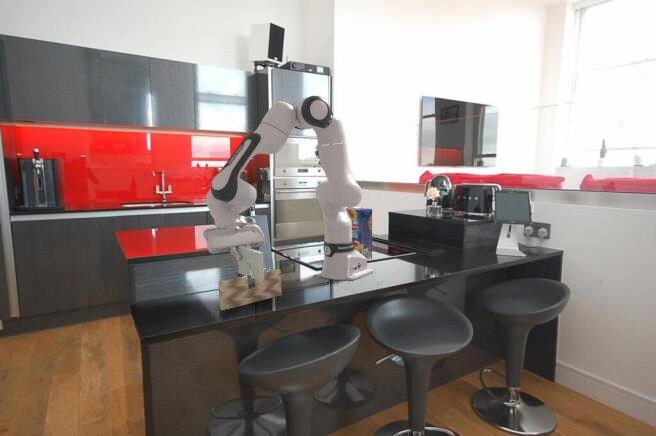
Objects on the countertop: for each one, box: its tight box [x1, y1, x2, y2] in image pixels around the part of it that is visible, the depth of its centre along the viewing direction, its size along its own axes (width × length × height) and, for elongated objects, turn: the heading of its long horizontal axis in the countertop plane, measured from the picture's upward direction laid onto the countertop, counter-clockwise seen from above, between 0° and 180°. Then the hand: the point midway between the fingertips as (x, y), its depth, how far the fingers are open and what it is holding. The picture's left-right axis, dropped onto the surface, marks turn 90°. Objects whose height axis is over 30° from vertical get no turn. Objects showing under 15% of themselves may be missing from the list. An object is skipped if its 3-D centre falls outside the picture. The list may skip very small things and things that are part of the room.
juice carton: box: [346, 206, 373, 261], centre depth 185 cm, size 12×8×24 cm, turn 42°
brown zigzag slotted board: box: [218, 268, 282, 311], centre depth 127 cm, size 22×2×9 cm, turn 130°
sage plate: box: [237, 246, 265, 281], centre depth 126 cm, size 2×14×9 cm, turn 40°
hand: (244, 258), depth 129 cm, fingers closed on sage plate, 2 cm apart
